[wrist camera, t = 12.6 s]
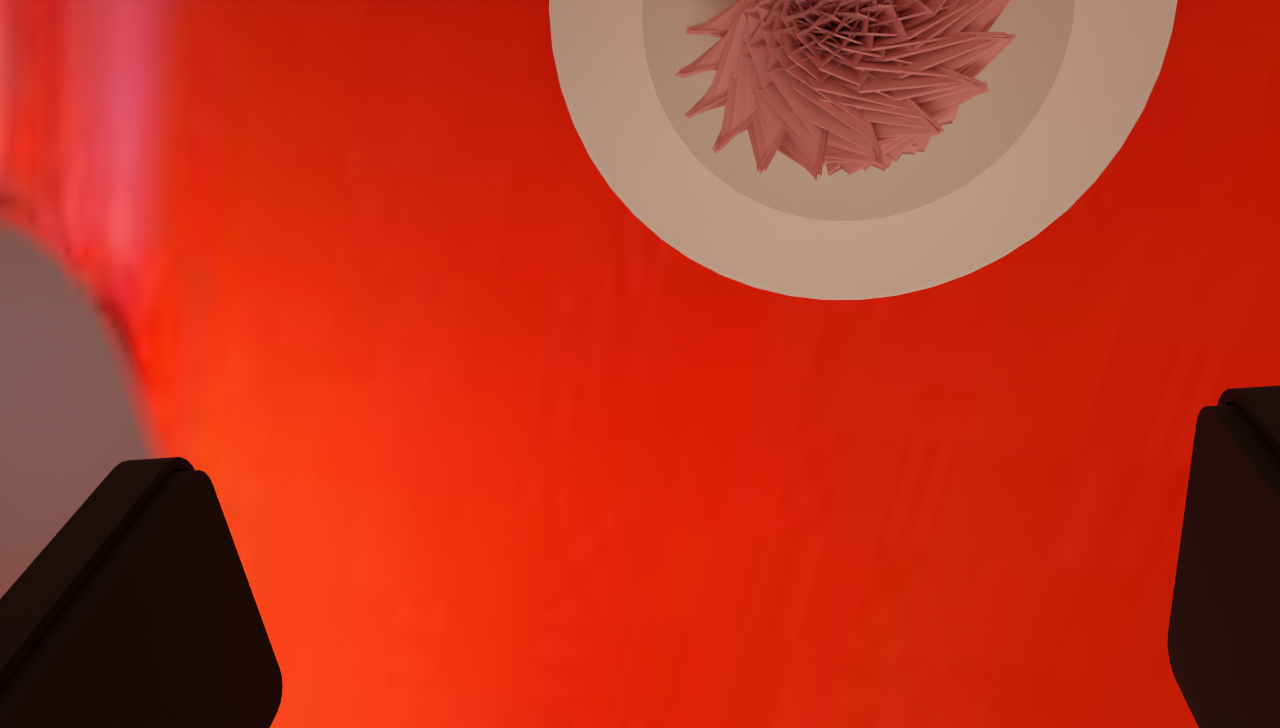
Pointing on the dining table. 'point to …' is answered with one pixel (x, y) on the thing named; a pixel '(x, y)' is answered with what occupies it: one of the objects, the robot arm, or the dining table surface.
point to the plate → (866, 200)
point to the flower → (844, 75)
